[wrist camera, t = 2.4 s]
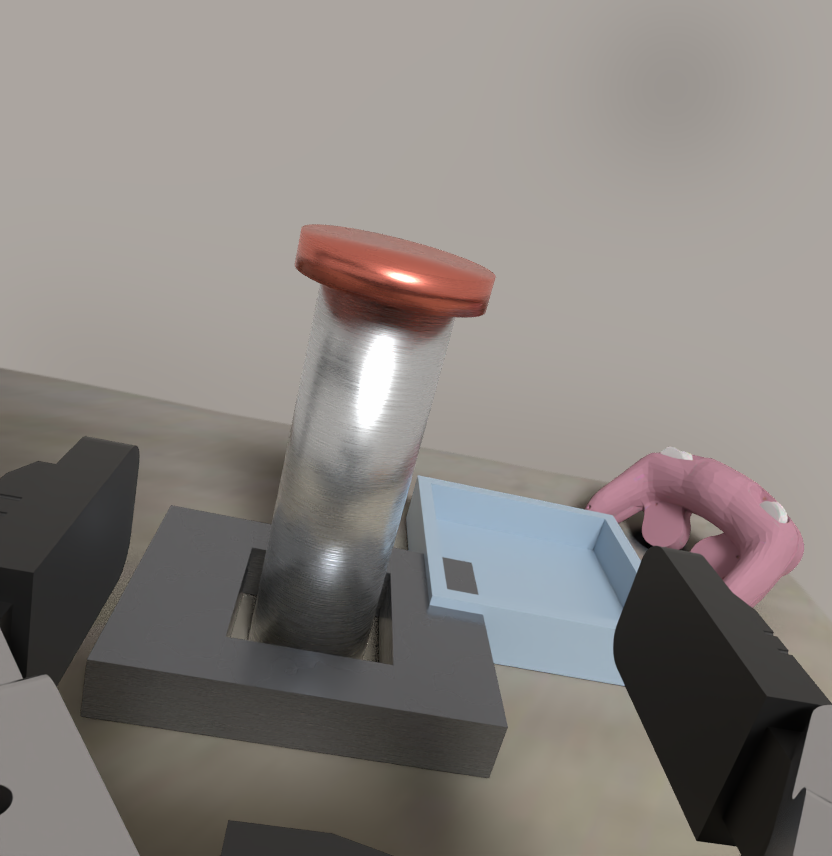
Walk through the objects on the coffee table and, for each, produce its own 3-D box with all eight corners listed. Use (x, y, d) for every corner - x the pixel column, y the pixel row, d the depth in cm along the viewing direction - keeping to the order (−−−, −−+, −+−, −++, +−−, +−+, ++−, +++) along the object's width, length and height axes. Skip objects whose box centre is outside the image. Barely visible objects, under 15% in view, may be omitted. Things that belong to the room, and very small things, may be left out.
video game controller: (750, 647, 37) (836, 532, 36) (718, 627, 34) (812, 500, 33) (604, 540, 44) (676, 442, 44) (567, 515, 41) (644, 410, 41)
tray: (416, 649, 28) (432, 595, 27) (406, 518, 37) (417, 475, 36) (668, 693, 29) (691, 643, 28) (597, 556, 38) (613, 515, 37)
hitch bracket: (80, 716, 21) (87, 659, 20) (164, 549, 29) (171, 505, 29) (489, 778, 23) (507, 727, 22) (458, 603, 31) (471, 562, 30)
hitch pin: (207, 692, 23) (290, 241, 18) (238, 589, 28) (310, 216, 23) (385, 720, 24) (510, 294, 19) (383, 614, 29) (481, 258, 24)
